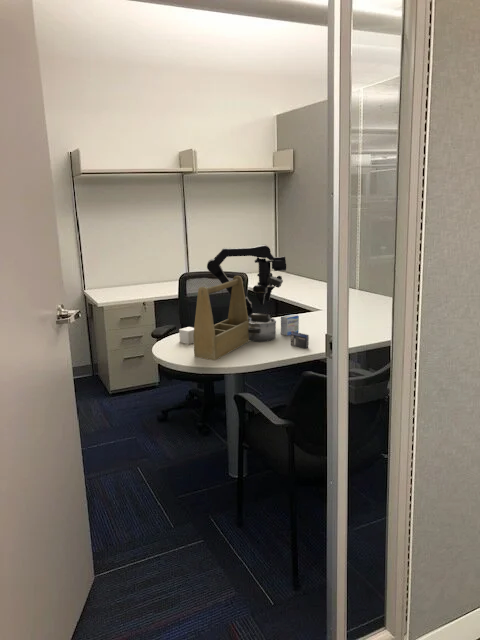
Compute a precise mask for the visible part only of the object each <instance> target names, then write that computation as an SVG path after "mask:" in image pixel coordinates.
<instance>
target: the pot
mask: <svg viewBox="0 0 480 640" xmlns="http://www.w3.org/2000/svg"><path fill="white" fill-rule="evenodd" d="M249 320H251V317H249V318H248V321H249ZM270 320H272V322H271V323H267V324H254V323H250V322H249V341H250V342H255V343H257V342H258V343H266V342H271V341H274V340H275V339H276V336H277V334H276V333H277V332H276V331H277V328H276V327H277V325H276V324H277V320H276V319H275V318H272V317H270Z"/></svg>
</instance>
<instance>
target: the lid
mask: <svg viewBox="0 0 480 640" xmlns="http://www.w3.org/2000/svg"><path fill="white" fill-rule="evenodd" d="M270 315H271V314H270V313H269V314H268V313H267V314H265V313H256V312H255V313H254V312H252V313H251V314H250V318H251V320H249V322H250V323H254V324H267V323H271V322H272V320H270V318H271V316H270Z"/></svg>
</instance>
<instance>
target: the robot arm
mask: <svg viewBox="0 0 480 640" xmlns="http://www.w3.org/2000/svg"><path fill="white" fill-rule="evenodd" d="M251 256H252V257H256V258H255V260H254V263H257V264H258V273H257V277H258V281H257V284H255V285H254V286H253V287H252V292H253V293H254V294H255V296H256V298H257V299H258V302H259V303H260V306H264V305H265V300H266V302H270V299H271V296H272V292H273V290H274V288H280V287H281V286H282V285H283V284H282V283H283V282H284V279H283V277H282V276H281V275H277V276H274V275H273V273H272V271H271V269H272V270H274V271H273V272H285V271H287V263H286V256H284V255H283V256H274V255H273V254H272V253H271V248H270V247H269V246H268V245H267V244H259V245H256V246H251V247H233V248H231V247H229V248H227V247H223V248H222V249H221V251H220V252H219V253H218V254H216V255H215V257H214V258H210V259H209V260H208V262H207V264H206V269H207V271H208V272H209V273H210V274H212V275H213V276H214V277H215V278H216V279H217V280H219V282H220V284H223V283H226V282H229V281H231V280H230V279H229V278H228V276H227V275H226V274H225V272H224V270H223V267H222V266H221V264H223V262H224V261H225V260H226V259H227V257H228V258H229V257H230V258H231V257H251ZM225 290H226V291H227V292H228V293H229V294H230V295H231V291H232V287H229V288H226V289H225ZM245 299H246V307H247V313H248V318H250V316H251V315H252V314H253V305H252V304H253V303H252V301H250V299H249V297H248V296H246V295H245ZM249 315H250V316H249Z"/></svg>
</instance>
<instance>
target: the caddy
mask: <svg viewBox="0 0 480 640" xmlns="http://www.w3.org/2000/svg"><path fill="white" fill-rule="evenodd" d="M229 287H232V291H231V294H230V300H229V307H228V314H227V315H228V316H227V319H225V320H222V321H220V322H218V323H215V324H214V315H213V312H212V311H213V310H212V304H211V299H210V295H211V294H214V293H217V292H220V291H222V290H227V289H226V288H229ZM245 297H246V294H245V289H244V283H243V278H242V276H241V275H234V277H233V278H232V280H230V281H229V282H226V283H223V284H222V283H220V284H216V285H214V286H210V287H206V286H200V287H198V290H197V297H196V308H195V315H194V324H193V325H194V326H193V328H194V343H193V355H194V358H200V359H205V360H210V361H217V360H219V359H220V358H222V357H224V356H226V355H228V354H229V353H231V352H232V351H234V350H236V349H238V348H240V347H241V346H244V345H245V344H248V343H249V321H248V317H249V316H248V313H247V307H246V299H245Z"/></svg>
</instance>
